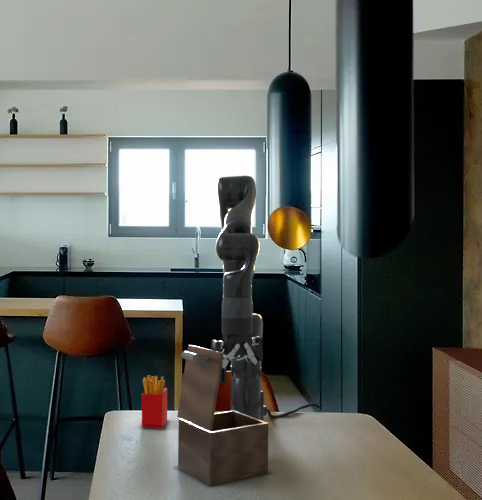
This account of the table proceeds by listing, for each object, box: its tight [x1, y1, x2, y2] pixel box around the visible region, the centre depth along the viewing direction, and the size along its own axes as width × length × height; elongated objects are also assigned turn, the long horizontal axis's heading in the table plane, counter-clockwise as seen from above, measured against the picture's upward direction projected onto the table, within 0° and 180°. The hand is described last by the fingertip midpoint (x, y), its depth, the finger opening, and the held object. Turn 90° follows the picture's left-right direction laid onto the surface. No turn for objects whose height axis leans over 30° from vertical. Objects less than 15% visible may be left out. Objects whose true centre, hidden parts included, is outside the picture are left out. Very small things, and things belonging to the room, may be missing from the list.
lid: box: [176, 344, 224, 431], centre depth 146 cm, size 17×14×5 cm
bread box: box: [177, 410, 269, 487], centre depth 150 cm, size 17×14×12 cm
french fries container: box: [141, 374, 168, 430], centre depth 189 cm, size 7×9×14 cm
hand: (236, 381), depth 154 cm, fingers open, 8 cm apart
